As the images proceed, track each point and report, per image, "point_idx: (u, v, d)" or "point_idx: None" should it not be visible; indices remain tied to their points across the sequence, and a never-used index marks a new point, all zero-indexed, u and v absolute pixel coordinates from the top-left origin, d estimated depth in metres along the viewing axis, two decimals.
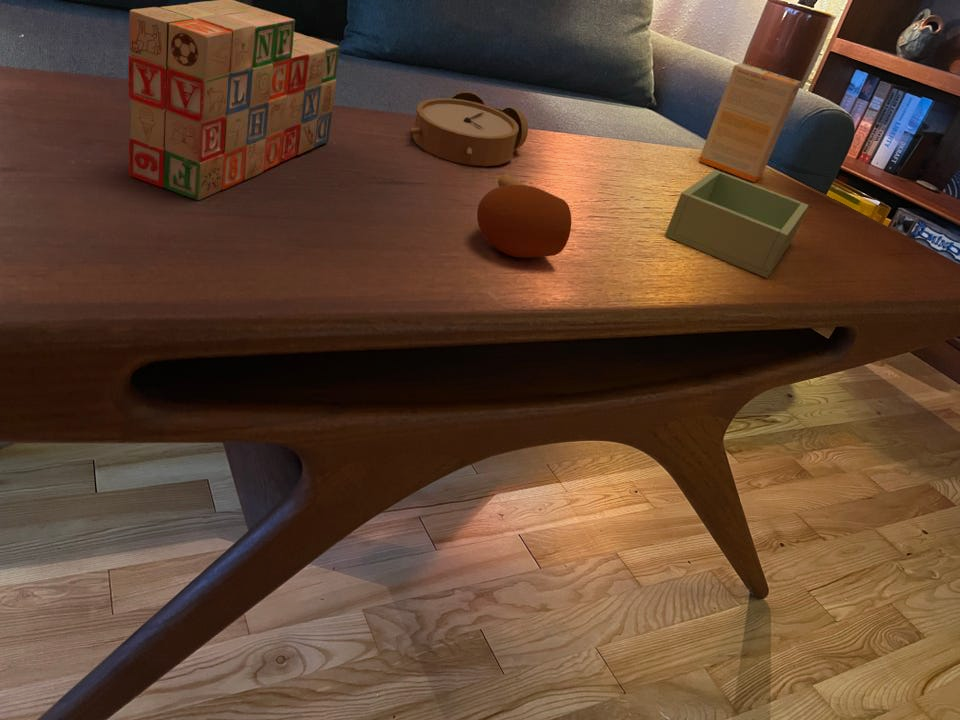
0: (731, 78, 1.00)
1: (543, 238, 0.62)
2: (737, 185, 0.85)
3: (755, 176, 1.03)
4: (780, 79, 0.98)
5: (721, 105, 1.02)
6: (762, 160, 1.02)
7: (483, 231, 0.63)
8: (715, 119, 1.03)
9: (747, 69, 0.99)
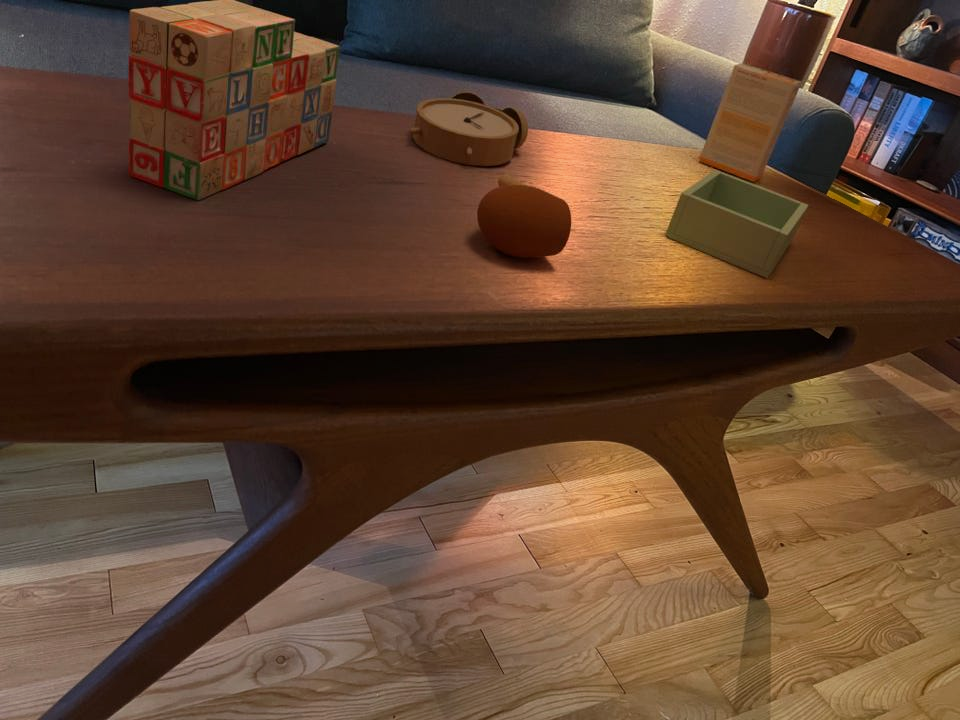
0: (731, 78, 1.00)
1: (543, 238, 0.62)
2: (737, 185, 0.85)
3: (755, 176, 1.03)
4: (780, 79, 0.98)
5: (721, 105, 1.02)
6: (762, 160, 1.02)
7: (483, 231, 0.63)
8: (715, 119, 1.03)
9: (747, 69, 0.99)
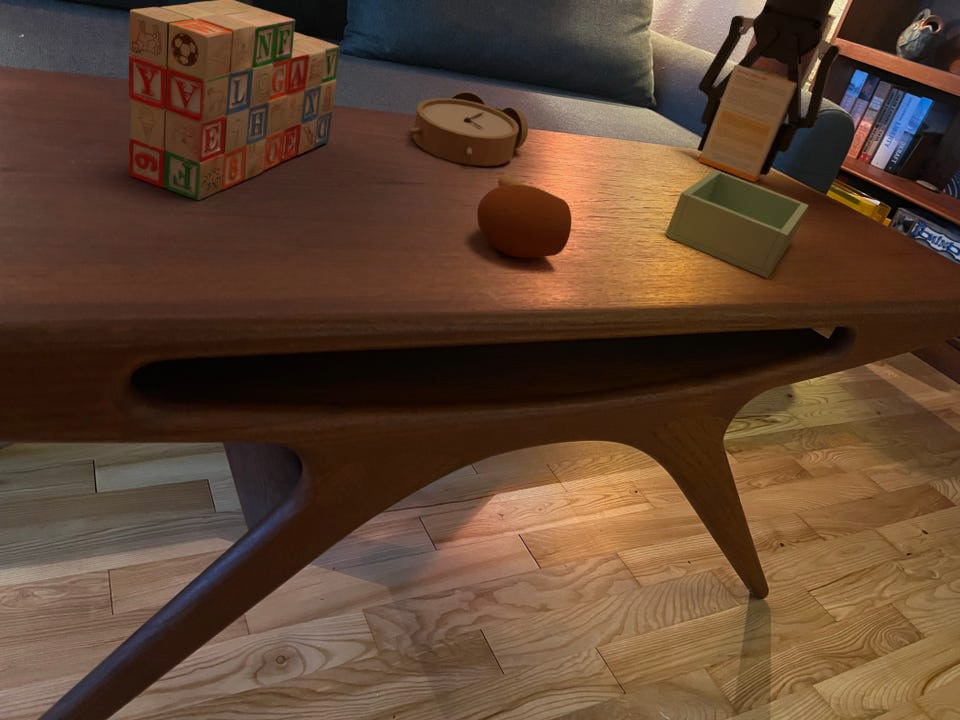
0: (731, 78, 1.00)
1: (543, 238, 0.62)
2: (737, 185, 0.85)
3: (755, 176, 1.03)
4: (780, 79, 0.98)
5: (721, 105, 1.02)
6: (762, 160, 1.02)
7: (483, 231, 0.63)
8: (715, 119, 1.03)
9: (747, 69, 0.99)
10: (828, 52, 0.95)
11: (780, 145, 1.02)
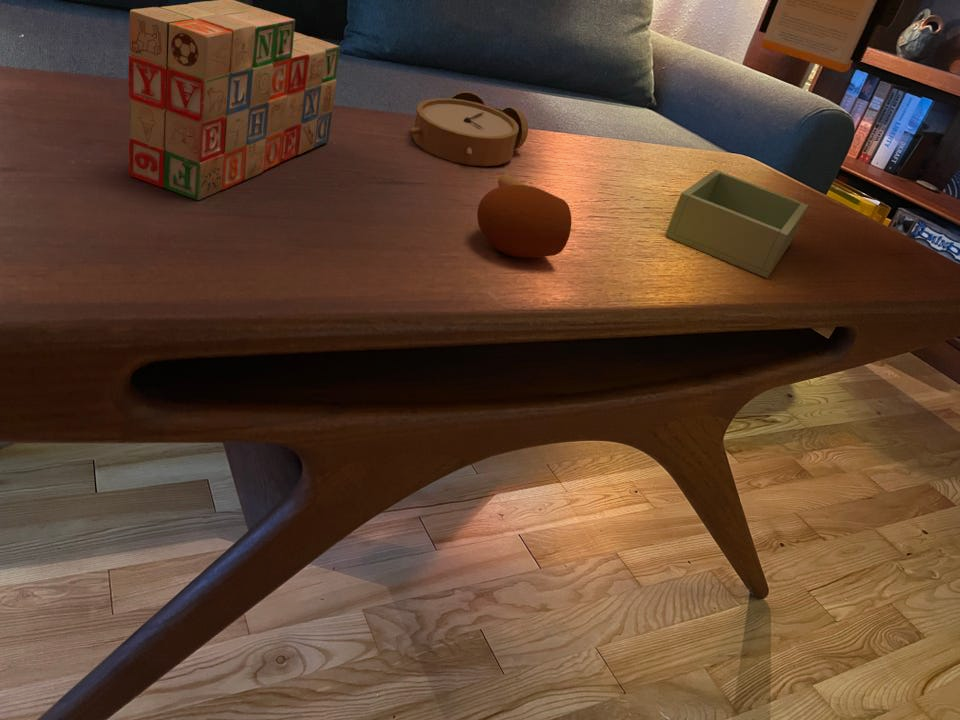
0: None
1: (543, 238, 0.62)
2: (737, 185, 0.85)
3: (844, 63, 0.72)
4: None
5: None
6: (856, 38, 0.71)
7: (483, 231, 0.63)
8: None
9: None
10: None
11: (882, 16, 0.71)
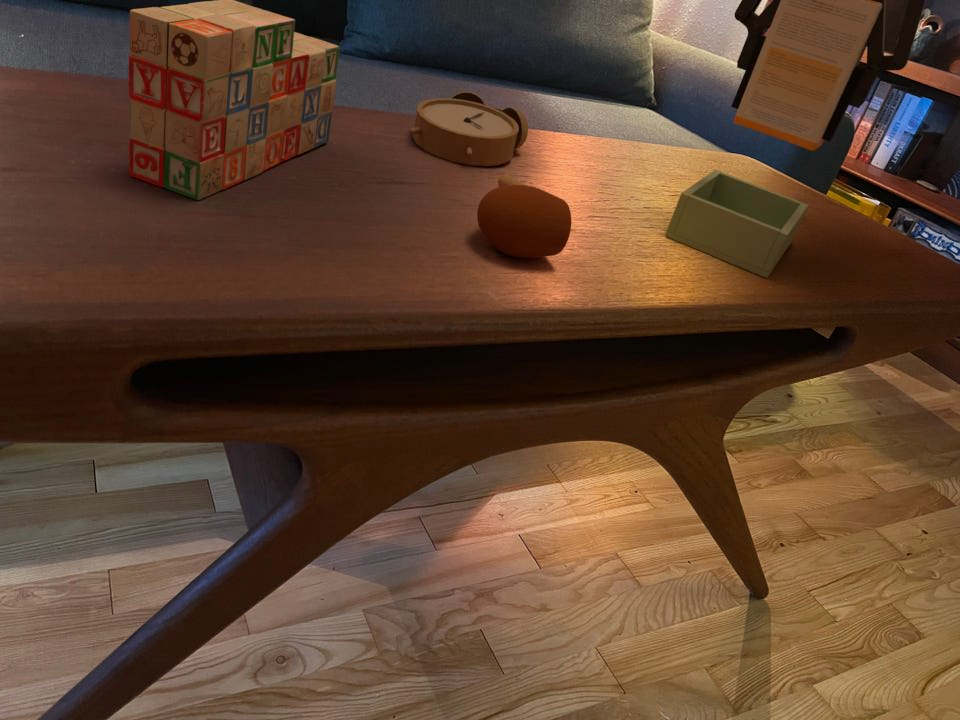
0: None
1: (543, 238, 0.62)
2: (737, 185, 0.85)
3: (816, 142, 0.72)
4: None
5: (768, 40, 0.71)
6: (827, 119, 0.71)
7: (483, 231, 0.63)
8: (758, 61, 0.72)
9: None
10: None
11: (853, 97, 0.71)
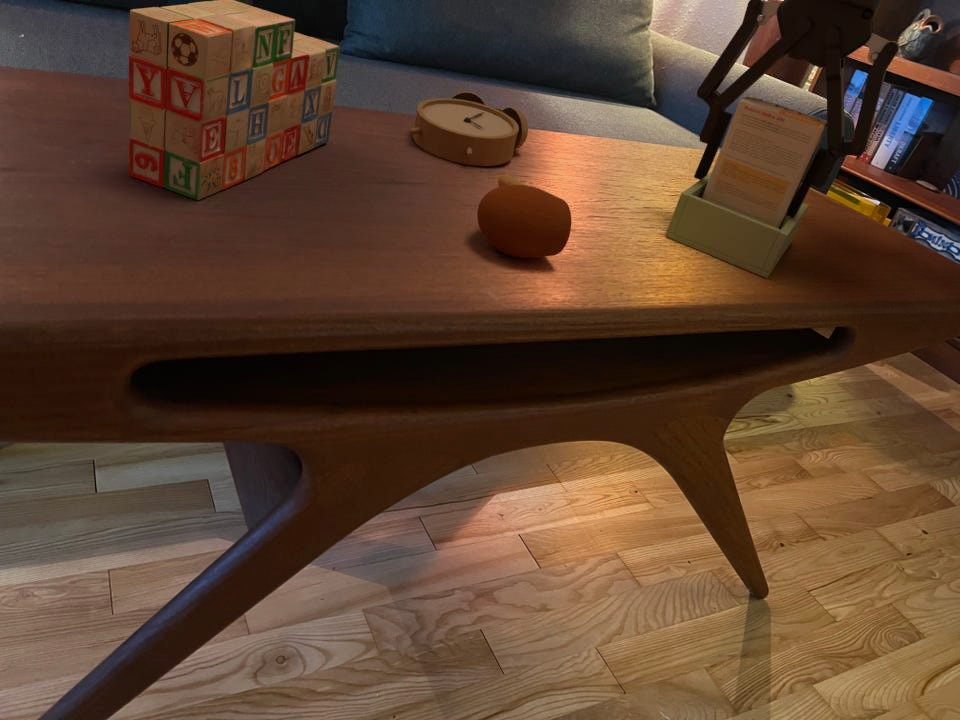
0: (735, 117, 0.75)
1: (543, 238, 0.62)
2: None
3: None
4: (802, 120, 0.72)
5: (722, 152, 0.76)
6: (777, 225, 0.76)
7: (483, 231, 0.63)
8: (714, 170, 0.77)
9: (757, 105, 0.74)
10: (883, 51, 0.68)
11: (815, 178, 0.75)
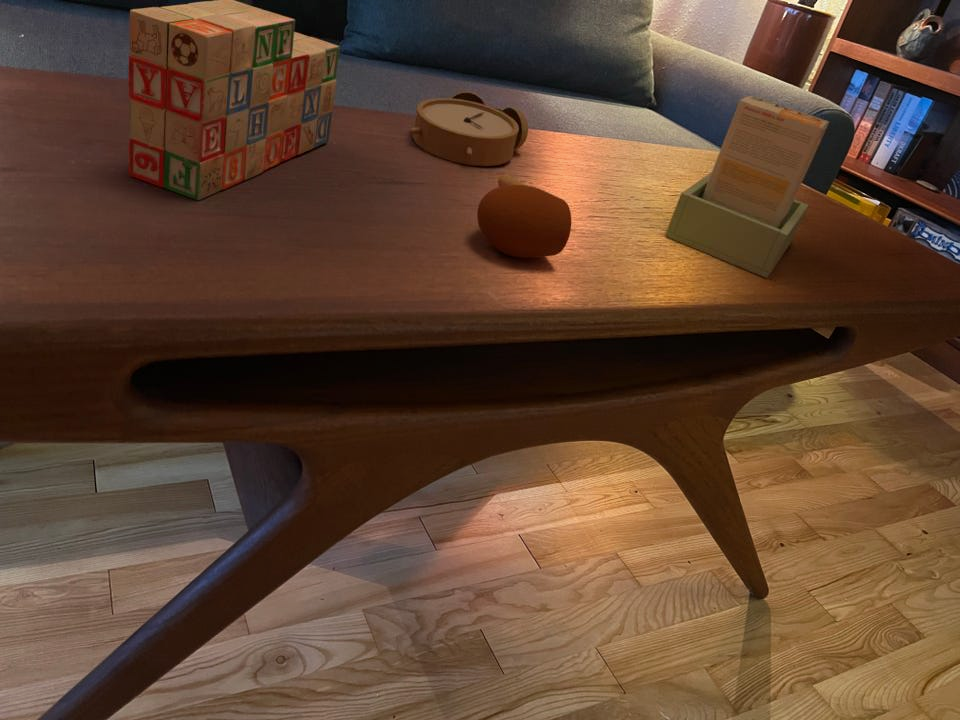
0: (735, 117, 0.75)
1: (543, 238, 0.62)
2: None
3: None
4: (802, 120, 0.72)
5: (722, 152, 0.76)
6: (777, 225, 0.76)
7: (483, 231, 0.63)
8: (714, 170, 0.77)
9: (757, 105, 0.74)
10: None
11: None
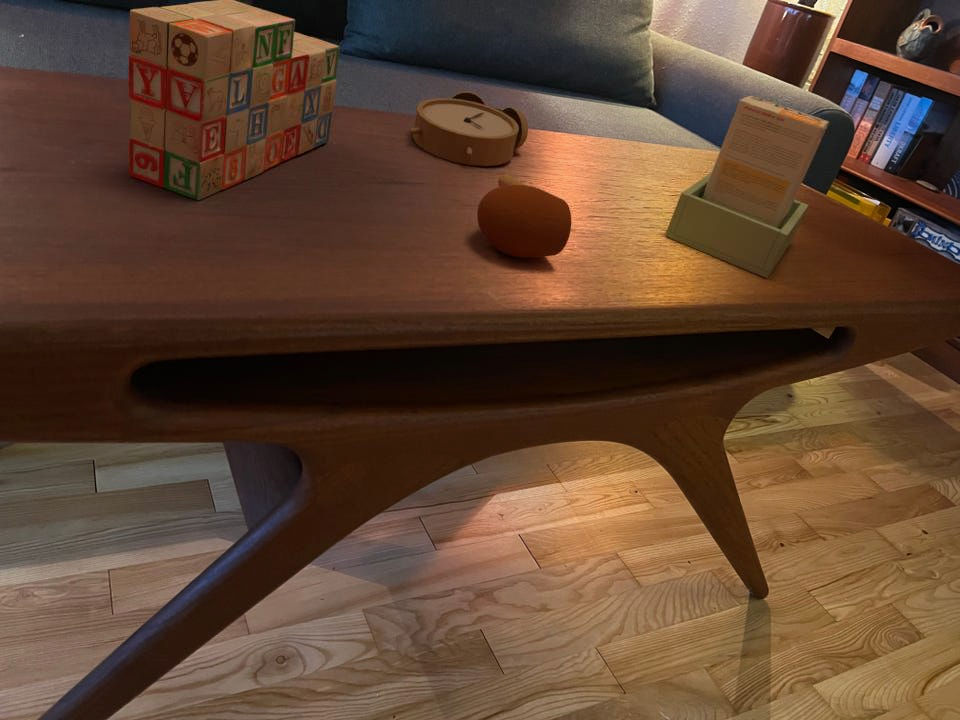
0: (735, 117, 0.75)
1: (543, 238, 0.62)
2: None
3: None
4: (802, 120, 0.72)
5: (722, 152, 0.76)
6: (777, 225, 0.76)
7: (483, 231, 0.63)
8: (714, 170, 0.77)
9: (757, 105, 0.74)
10: None
11: None
